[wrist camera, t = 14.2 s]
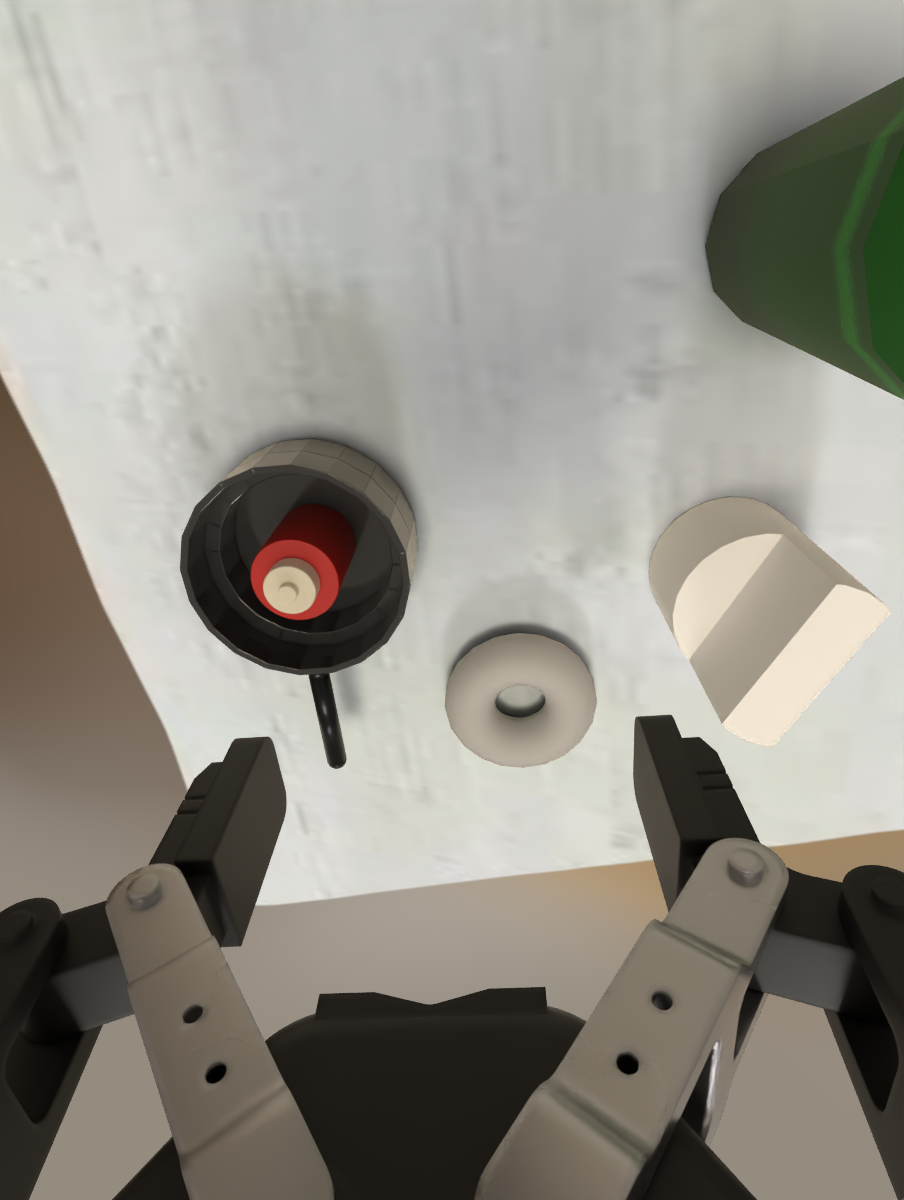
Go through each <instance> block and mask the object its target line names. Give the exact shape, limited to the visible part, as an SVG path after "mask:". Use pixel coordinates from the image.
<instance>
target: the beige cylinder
mask: <svg viewBox="0 0 904 1200" xmlns="http://www.w3.org/2000/svg"><path fill="white" fill-rule="evenodd" d="M649 579H650V588H651V590H652V593H653V595H654V597H655V600H656V602H657V604H658V606H659V608H660V610H661V612H662V614H663V616H664V618H665V620H666V622H667V624H668V626H669V628H670V630H671V632H672V634H673V636H674V638H675V640H676V642H677V644H678V646H679V648H680V649H681V651H682V652H683V653H684V654H685V656H686V657H687V658H688V659H689V661H690V663H691V665H692V667H693V668H694V670H695V672H696V674H697V676H698V678H699V680H700V682H701V684H702V686H703V688H704V690H705V692H706V694H707V696H708V698H709V700H710V701H711V703H712V705H713V707H714V709H715V711H716V713H717V715H718V717H719V719H720V721H721V723H722V724H723V726H724V727H725V728H726V729H728V730H729V731H731V732H732V733H734V734H736V735H737V736H739V737H741V738H742V739H744V740H747V741H750V742H753V743H757V744H760V745H763V746H771V747H773V746H774V745H775V743H776V742H777V741H778V740H779V739H780V738H781V737H782V735H783V734H784V733H785V732H786V731H787V730H788V729H789V727H790V726H791V725H792V724H793V723H794V722H795V721H796V720H797V718H798V717H799V716H800V715H801V714H802V713H803V712H804V710H805V709H806V708H807V707H808V706H809V705H810V704H811V702H812V701H813V700H814V699H815V698H816V697H817V696H818V695H819V693H820V692H821V691H822V690H823V689H824V688H825V687H826V685H827V684H828V683H829V682H830V681H831V680H832V679H833V677H834V676H835V675H836V674H837V673H838V672H839V671H840V669H841V668H842V667H843V666H844V665H845V664H846V663H847V662H848V660H849V659H850V658H851V657H852V656H853V655H854V654H855V652H856V651H857V650H858V649H859V648H860V647H861V646H862V644H863V643H864V642H865V641H866V640H867V639H868V638H869V636H870V635H871V634H872V633H873V632H874V631H875V630H876V629H877V627H878V626H879V625H880V624H881V623H882V622H883V621H884V619H885V618H886V617H887V616H888V615H889V614H890V613H891V611H890V610H889V608H888V607H887V606H886V605H885V604H884V603H883V602H882V601H880V600H879V599H878V598H877V597H876V596H875V595H874V594H872V593H871V592H870V591H869V590H868V589H867V588H866V587H864V586H863V585H862V584H861V583H860V582H859V581H858V580H856V579H855V578H854V577H853V576H852V575H851V574H849V573H848V572H847V571H846V570H845V569H844V568H843V567H841V566H840V565H839V564H838V563H837V562H836V561H835V560H833V559H832V558H831V557H830V556H829V555H828V554H826V553H825V552H824V551H823V550H822V549H821V548H820V547H818V546H817V545H816V544H815V543H814V542H813V541H812V540H810V539H809V538H808V537H807V536H806V535H805V534H804V533H802V532H801V531H800V530H799V529H798V528H797V527H795V526H794V525H793V524H792V523H791V522H790V521H789V520H787V519H786V518H785V517H784V516H783V515H782V514H780V513H779V512H777V511H776V510H775V509H773V508H772V507H771V506H769V505H768V504H765V503H762V502H759V501H757V500H754V499H751V498H740V497H726V498H721V499H715V500H710V501H707V502H705V503H703V504H700V505H698V506H696V507H693V508H691V509H689V510H688V511H687V512H685V513H684V514H683V515H681V516H680V517H678V518H677V519H676V520H674V521H673V522H672V524H671V525H670V526H669V527H668V528H667V529H666V530H665V532H664V533H663V534H662V535H661V536H660V538H659V540H658V542H657V544H656V546H655V548H654V550H653V552H652V557H651V561H650V566H649Z"/></svg>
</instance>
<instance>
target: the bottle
mask: <svg viewBox="0 0 904 1200" xmlns="http://www.w3.org/2000/svg"><path fill="white" fill-rule="evenodd" d="M706 252H707V257H708V262H709V268H710V273H711V278H712V284H713V289H714V292H715V293H716V294H717V295H718V296H719V297H720V298H721V299H722V300H723V301H724V302H725V303H726V305H727V306H728V307H729V308H730V309H731V310H732V311H733V312H734V313H735V314H736V315H737V316H738V317H739V318H740V319H741V320H742V321H743V322H745V323H747V324H749V325H751V326H753V327H755V328H757V329H759V330H762V331H764V332H766V333H768V334H770V335H772V336H774V337H776V338H778V339H780V340H782V341H784V342H786V343H788V344H790V345H792V346H794V347H797V348H799V349H801V350H803V351H805V352H807V353H809V354H811V355H813V356H815V357H817V358H819V359H821V360H823V361H825V362H827V363H829V364H832V365H834V366H836V367H838V368H840V369H842V370H844V371H846V372H848V373H850V374H852V375H854V376H856V377H858V378H860V379H862V380H864V381H867V382H869V383H871V384H873V385H875V386H877V387H879V388H881V389H883V390H885V391H887V392H889V393H891V394H893V395H895V396H897V397H899V398H902V399H904V77H903V78H901V79H899V80H897V81H895V82H893V83H891V84H889V85H888V86H886V87H884V88H882V89H880V90H878V91H876V92H874V93H872V94H870V95H869V96H867V97H865V98H863V99H861V100H859V101H857V102H855V103H853V104H851V105H849V106H848V107H846V108H844V109H842V110H840V111H838V112H836V113H834V114H832V115H830V116H828V117H827V118H825V119H823V120H821V121H819V122H817V123H815V124H813V125H811V126H809V127H807V128H806V129H804V130H802V131H800V132H798V133H796V134H794V135H792V136H790V137H788V138H786V139H785V140H783V141H781V142H779V143H777V144H775V145H773V146H771V147H769V148H767V149H765V150H764V151H762V152H760V153H758V154H757V155H756V156H755V157H754V158H753V159H752V160H751V161H750V163H749V164H748V165H747V166H746V167H745V168H744V169H743V170H742V172H741V173H740V174H739V175H738V176H737V177H736V178H735V180H734V181H733V182H732V183H731V184H730V185H729V186H728V188H727V189H726V190H725V191H724V192H723V193H722V194H721V196H720V199H719V202H718V206H717V209H716V212H715V216H714V219H713V222H712V226H711V229H710V232H709V236H708V239H707V242H706Z"/></svg>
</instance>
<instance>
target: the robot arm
mask: <svg viewBox="0 0 904 1200" xmlns="http://www.w3.org/2000/svg"><path fill="white" fill-rule="evenodd" d="M633 778H634V789H635V795H636V800H637V804H638V808H639V811H640V815H641V818H642V822H643V825H644V829H645V832H646V835H647V839H648V842H649V846H650V849H651V853H652V856H653V860H654V863H655V867H656V870H657V874H658V877H659V880H660V884H661V887H662V891H663V894H664V898H665V901H666V905H667V908H668V912H669V913H668V915H667V916H666V918H665V919H664V921H663V922H660V921H658V920H656V919H654V920H652V921H651V922H650V923H649V924H648V925H647V926H646V928H645V929H644V931H643V932H642V934H641V935H640V937H639V939H638V940H637V942H636V943H635V945H634V947H633V948H632V950H631V951H630V953H629V955H628V956H627V958H626V960H625V961H624V963H623V964H622V966H621V967H620V969H619V971H618V972H617V974H616V976H615V977H614V979H613V980H612V982H611V984H610V985H609V987H608V988H607V990H606V992H605V993H604V995H603V996H602V998H601V999H600V1001H599V1003H598V1004H597V1006H596V1007H595V1009H594V1011H593V1012H592V1014H591V1016H590V1017H589V1019H588V1020H587V1021H585V1020H582V1019H581V1018H579V1017H577V1016H575V1015H573V1014H571V1013H568V1012H565V1011H563V1010H560V1009H557V1008H553V1007H549V1006H547V1000H546V990H545V987H531V988H498V989H486V990H483V991H480V992H476V993H472V994H469V995H465V996H462V997H458V998H455V999H451V1000H448V1001H444V1002H441V1003H437V1004H433V1005H428V1004H422V1003H418V1002H413V1001H409V1000H404V999H400V998H396V997H392V996H388V995H384V994H379V993H375V992H371V993H370V992H367V993H335V994H320V995H319V999H318V1004H317V1009H316V1014H313V1015H309V1016H307V1017H304V1018H302V1019H300V1020H297V1021H295V1022H293V1023H291V1024H289V1025H288V1026H286V1027H284V1028H282V1029H281V1030H279V1031H278V1032H276V1033H275V1034H273V1035H272V1036H271V1037H269V1038H268V1039H267V1040H266V1041H264V1039H263V1037H262V1034H261V1032H260V1030H259V1028H258V1026H257V1024H256V1022H255V1020H254V1018H253V1016H252V1013H251V1011H250V1009H249V1007H248V1005H247V1003H246V1001H245V999H244V997H243V995H242V993H241V990H240V988H239V986H238V984H237V982H236V980H235V978H234V976H233V974H232V972H231V969H230V967H229V965H228V963H227V961H226V959H225V957H224V955H223V953H222V951H221V947H233V946H241V945H242V942H243V939H244V936H245V933H246V930H247V927H248V924H249V921H250V918H251V916H252V913H253V910H254V907H255V904H256V901H257V898H258V895H259V892H260V889H261V886H262V883H263V880H264V877H265V874H266V871H267V868H268V865H269V862H270V859H271V856H272V854H273V851H274V848H275V845H276V842H277V839H278V836H279V833H280V830H281V827H282V824H283V821H284V818H285V813H286V791H285V786H284V783H283V779H282V775H281V771H280V767H279V763H278V759H277V755H276V751H275V748H274V744H273V741H272V739H271V738H270V737H254V738H237V739H235V740H234V741H233V742H232V744H231V746H230V748H229V750H228V752H227V754H226V756H225V758H224V760H223V762H215V763H211V764H210V765H209V766H208V767H207V768H206V769H205V770H203V771H202V772H201V773H200V774H199V775H198V776H197V777H196V778H195V779H194V781H193V782H192V784H191V786H190V788H189V790H188V792H187V794H186V796H185V800H183V801H182V803H181V805H180V807H179V809H178V811H177V815H175V816H174V818H173V820H172V822H171V824H170V826H169V827H168V830H167V831H166V833H165V835H164V837H163V839H162V841H161V842H160V844H159V846H158V848H157V850H156V852H155V854H154V856H153V857H152V859H151V861H150V863H149V865H148V866H145V867H142V868H140V869H138V870H136V871H134V872H132V873H130V874H129V875H127V876H126V877H124V878H123V879H122V880H121V881H120V882H119V883H118V884H117V885H116V886H115V887H114V888H113V890H112V891H111V893H110V894H109V896H108V898H107V900H106V901H103V902H101V903H98V904H94V905H91V906H88V907H84V908H81V909H78V910H75V911H72V912H68V913H65V914H62V913H61V911H60V909H59V907H58V906H57V904H56V903H55V902H54V901H52V900H50V899H47V898H33V899H28V900H25V901H22V902H19V903H16V904H14V905H12V906H10V907H8V908H7V909H5V910H3V911H2V912H0V1200H29V1198H30V1196H31V1193H32V1191H33V1188H34V1186H35V1184H36V1182H37V1179H38V1177H39V1174H40V1172H41V1169H42V1167H43V1165H44V1163H45V1160H46V1158H47V1155H48V1153H49V1151H50V1148H51V1146H52V1144H53V1141H54V1139H55V1137H56V1134H57V1132H58V1130H59V1127H60V1125H61V1123H62V1120H63V1118H64V1115H65V1113H66V1111H67V1108H68V1106H69V1103H70V1101H71V1099H72V1097H73V1094H74V1092H75V1089H76V1087H77V1085H78V1082H79V1080H80V1077H81V1075H82V1073H83V1071H84V1068H85V1066H86V1063H87V1061H88V1059H89V1056H90V1054H91V1052H92V1049H93V1047H94V1045H95V1042H96V1040H97V1037H98V1035H99V1033H100V1030H101V1028H102V1026H103V1024H106V1023H109V1022H112V1021H115V1020H118V1019H121V1018H124V1017H127V1016H130V1015H133V1014H135V1017H136V1020H137V1023H138V1026H139V1030H140V1033H141V1036H142V1039H143V1043H144V1046H145V1049H146V1052H147V1055H148V1059H149V1062H150V1065H151V1068H152V1072H153V1075H154V1078H155V1081H156V1084H157V1088H158V1091H159V1094H160V1097H161V1100H162V1104H163V1107H164V1110H165V1113H166V1117H167V1120H168V1123H169V1126H170V1129H171V1132H172V1137H171V1138H170V1140H169V1141H168V1142H167V1143H166V1144H165V1145H164V1146H163V1147H162V1148H161V1149H160V1150H159V1151H158V1152H157V1153H156V1154H155V1155H154V1156H153V1158H151V1160H150V1161H149V1162H148V1163H147V1164H146V1165H145V1166H144V1167H143V1168H142V1169H141V1170H140V1171H139V1172H138V1173H137V1174H136V1175H135V1176H134V1177H133V1178H132V1180H130V1182H129V1183H128V1184H127V1185H126V1186H125V1187H124V1188H123V1189H122V1190H121V1191H120V1192H119V1193H118V1194H117V1195H116V1196H115V1197H114V1199H112V1200H757V1199H756V1198H755V1197H754V1196H753V1195H752V1194H751V1193H750V1192H749V1191H748V1190H747V1188H746V1187H745V1186H744V1185H743V1184H742V1183H741V1182H740V1181H739V1180H738V1179H737V1177H736V1176H735V1175H734V1174H733V1173H732V1172H731V1171H730V1170H729V1169H728V1167H726V1165H725V1164H724V1163H723V1162H722V1161H721V1160H720V1159H719V1158H718V1157H717V1156H716V1154H715V1153H714V1152H713V1151H712V1150H711V1149H710V1148H709V1147H710V1145H711V1143H712V1140H713V1138H714V1135H715V1133H716V1131H717V1128H718V1125H719V1123H720V1120H721V1117H722V1114H723V1111H724V1108H725V1105H726V1101H727V1098H728V1094H729V1090H730V1087H731V1084H732V1081H733V1078H734V1075H735V1072H736V1070H737V1067H738V1065H739V1062H740V1060H741V1058H742V1055H743V1053H744V1051H745V1048H746V1046H747V1043H748V1041H749V1039H750V1036H751V1034H752V1032H753V1029H754V1027H755V1025H756V1022H757V1020H758V1018H759V1015H760V1013H761V1010H762V1008H763V1006H764V1003H765V1001H766V998H767V996H768V994H772V995H776V996H780V997H783V998H787V999H791V1000H794V1001H798V1002H802V1003H805V1004H809V1005H813V1006H816V1007H820V1008H823V1009H824V1011H825V1014H826V1016H827V1019H828V1022H829V1024H830V1027H831V1029H832V1032H833V1034H834V1037H835V1039H836V1042H837V1045H838V1047H839V1050H840V1052H841V1055H842V1057H843V1060H844V1063H845V1065H846V1068H847V1070H848V1073H849V1075H850V1078H851V1081H852V1083H853V1086H854V1088H855V1090H856V1093H857V1096H858V1098H859V1101H860V1104H861V1106H862V1109H863V1111H864V1114H865V1116H866V1119H867V1121H868V1124H869V1127H870V1129H871V1132H872V1134H873V1137H874V1140H875V1142H876V1145H877V1147H878V1150H879V1152H880V1155H881V1157H882V1160H883V1162H884V1165H885V1168H886V1170H887V1173H888V1176H889V1178H890V1181H891V1183H892V1186H893V1188H894V1191H895V1193H896V1196H897V1199H898V1200H904V873H903V872H901V871H898V870H896V869H892V868H889V867H884V866H878V865H866V866H860V867H857V868H855V869H852V870H851V871H850V872H848V873H847V874H846V876H845V877H844V880H843V883H841V882H837V881H832V880H827V879H822V878H818V877H813V876H809V875H805V874H802V873H799V872H796V871H794V870H791V869H789V868H787V867H786V865H785V863H784V862H783V860H782V859H781V858H780V857H779V856H778V855H777V854H776V853H775V852H774V851H772V850H771V849H770V848H768V847H766V846H765V845H762V844H761V843H760V842H759V840H758V837H757V835H756V833H755V831H754V829H753V827H752V825H751V823H750V821H749V819H748V816H747V814H746V812H745V810H744V808H743V806H742V804H741V802H740V800H739V798H738V795H737V793H736V791H735V789H733V785H732V783H731V781H730V779H729V776H728V774H726V770H725V768H724V766H723V764H722V762H721V760H720V758H719V755H718V753H717V752H716V751H715V750H714V749H713V748H711V747H710V746H709V745H708V744H707V743H706V742H705V741H703V740H702V739H701V738H700V737H692V738H682V737H681V735H680V732H679V730H678V728H677V725H676V723H675V721H674V718H673V717H672V715H658V716H640V717H636V719H635V728H634V766H633Z"/></svg>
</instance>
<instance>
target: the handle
mask: <svg viewBox="0 0 904 1200" xmlns="http://www.w3.org/2000/svg"><path fill="white" fill-rule="evenodd" d="M309 679H310V684H311V689H312V693H313V698H314V702H315V707H316V711H317V716H318V721H319V725H320V730H321V734H322V739H323V743H324V748H325V752H326V757H327V762H328V764H329V766H331V767H332V768H335V769H338V768H341V767H343V766H344V765H345V763H346V753H345V748H344V743H343V738H342V733H341V728H340V723H339V718H338V714H337V709H336V704H335V699H334V694H333V689H332V684H331V679H330V674H329V673H324V674H309Z"/></svg>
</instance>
